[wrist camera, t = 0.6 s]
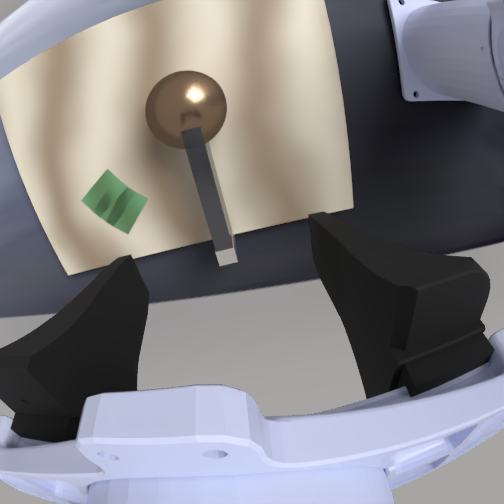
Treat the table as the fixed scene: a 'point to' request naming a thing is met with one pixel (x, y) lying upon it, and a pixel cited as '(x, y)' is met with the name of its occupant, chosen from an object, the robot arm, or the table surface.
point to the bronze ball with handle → (195, 142)
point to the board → (168, 158)
